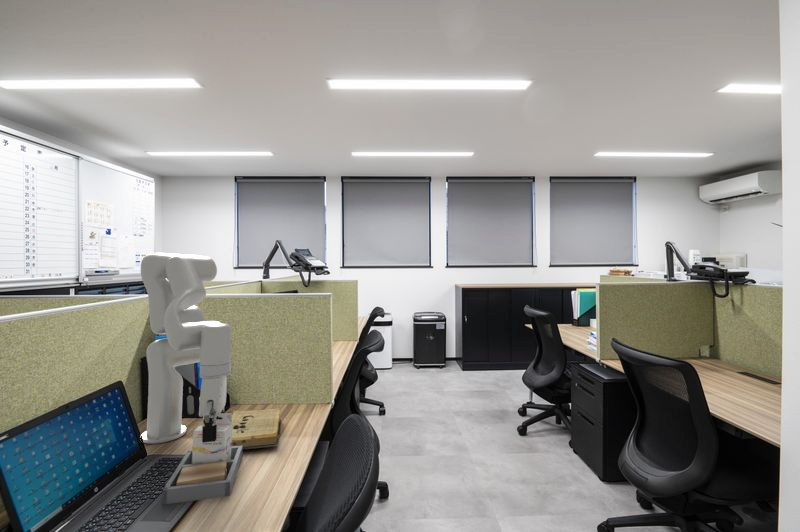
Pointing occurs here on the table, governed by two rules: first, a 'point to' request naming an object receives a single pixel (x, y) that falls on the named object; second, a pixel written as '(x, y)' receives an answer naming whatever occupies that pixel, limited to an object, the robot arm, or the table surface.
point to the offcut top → (202, 473)
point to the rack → (201, 490)
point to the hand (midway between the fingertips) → (213, 433)
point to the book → (256, 428)
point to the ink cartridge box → (214, 442)
